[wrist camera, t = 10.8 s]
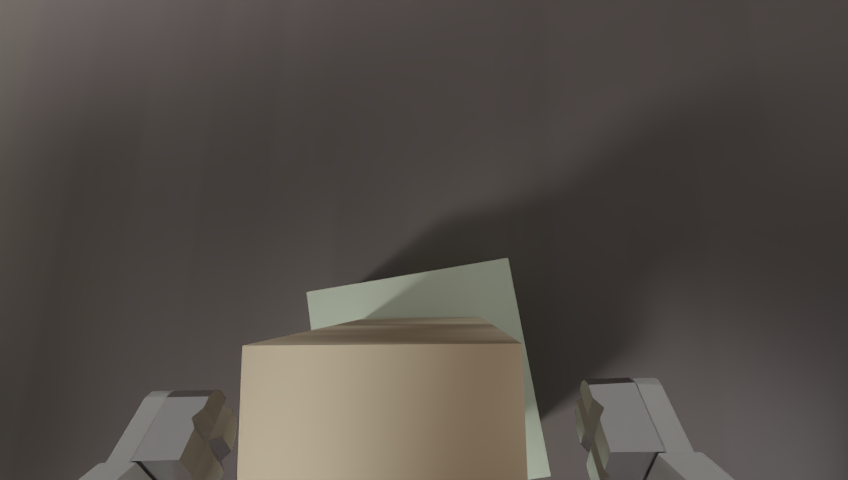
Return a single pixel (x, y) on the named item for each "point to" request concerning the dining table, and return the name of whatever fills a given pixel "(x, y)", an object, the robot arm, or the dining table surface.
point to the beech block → (384, 403)
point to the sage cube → (439, 298)
